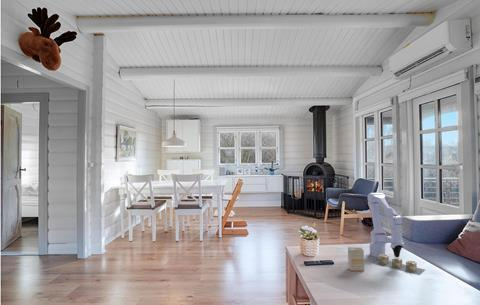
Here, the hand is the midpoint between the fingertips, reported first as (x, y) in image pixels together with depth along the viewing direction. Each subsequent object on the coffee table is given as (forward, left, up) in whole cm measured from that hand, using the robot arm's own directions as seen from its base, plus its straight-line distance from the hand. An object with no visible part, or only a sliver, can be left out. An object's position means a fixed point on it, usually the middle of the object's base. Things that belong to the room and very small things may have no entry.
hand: (396, 256), depth 180 cm
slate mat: (0, 0, -6) cm, 6 cm away
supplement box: (-15, -23, -7) cm, 28 cm away
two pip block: (-8, 0, -6) cm, 10 cm away
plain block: (0, 0, -6) cm, 6 cm away
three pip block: (+8, 0, -6) cm, 10 cm away
